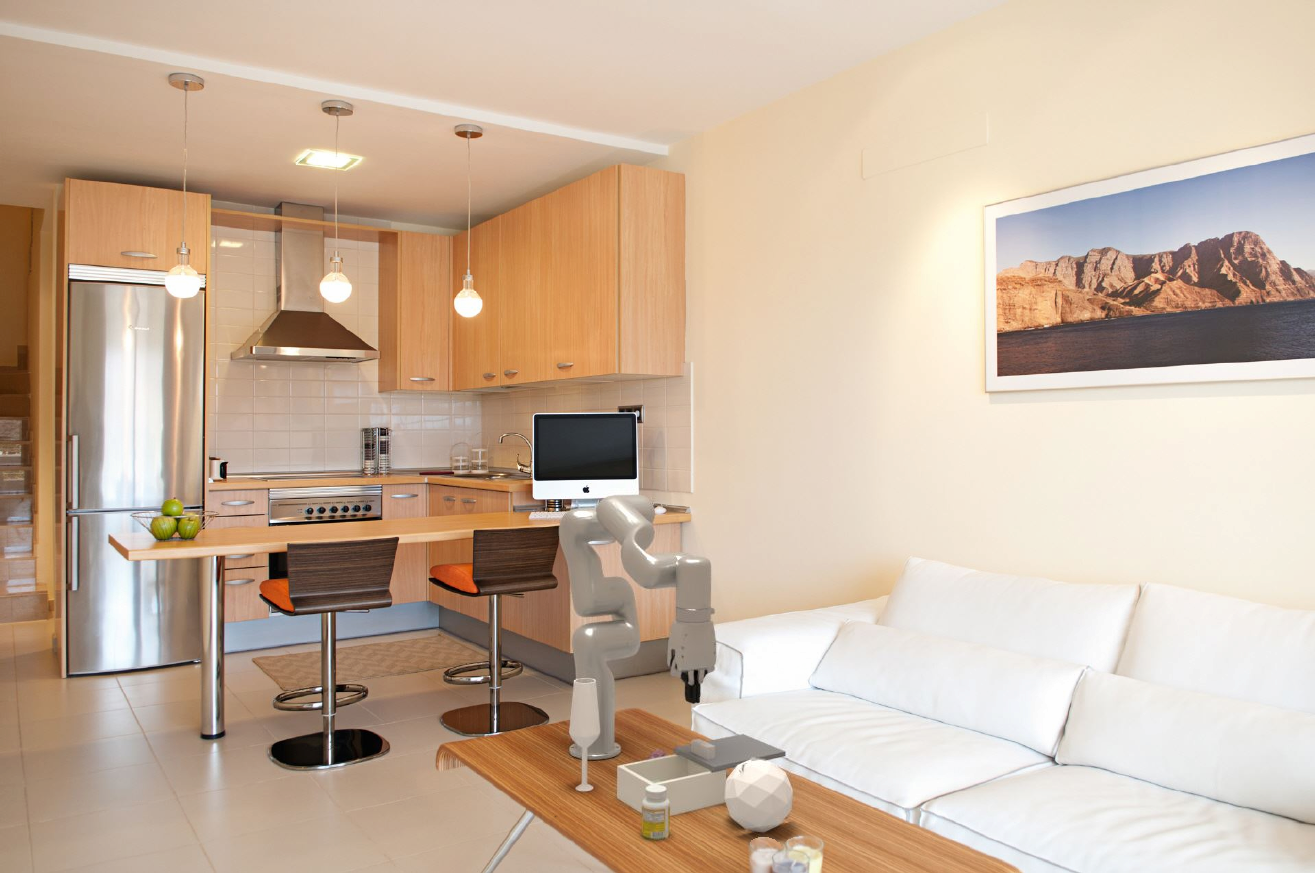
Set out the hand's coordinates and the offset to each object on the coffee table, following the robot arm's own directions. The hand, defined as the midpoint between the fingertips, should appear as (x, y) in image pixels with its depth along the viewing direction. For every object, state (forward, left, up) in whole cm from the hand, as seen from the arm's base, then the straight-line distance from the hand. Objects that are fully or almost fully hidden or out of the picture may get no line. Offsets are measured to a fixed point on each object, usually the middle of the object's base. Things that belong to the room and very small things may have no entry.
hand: (692, 701), depth 197 cm
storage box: (0, -5, -21) cm, 21 cm away
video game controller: (-17, 0, -21) cm, 27 cm away
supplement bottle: (+13, -17, -21) cm, 30 cm away
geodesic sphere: (+19, +3, -21) cm, 28 cm away
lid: (0, +10, -13) cm, 16 cm away
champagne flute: (-16, -17, -21) cm, 31 cm away
